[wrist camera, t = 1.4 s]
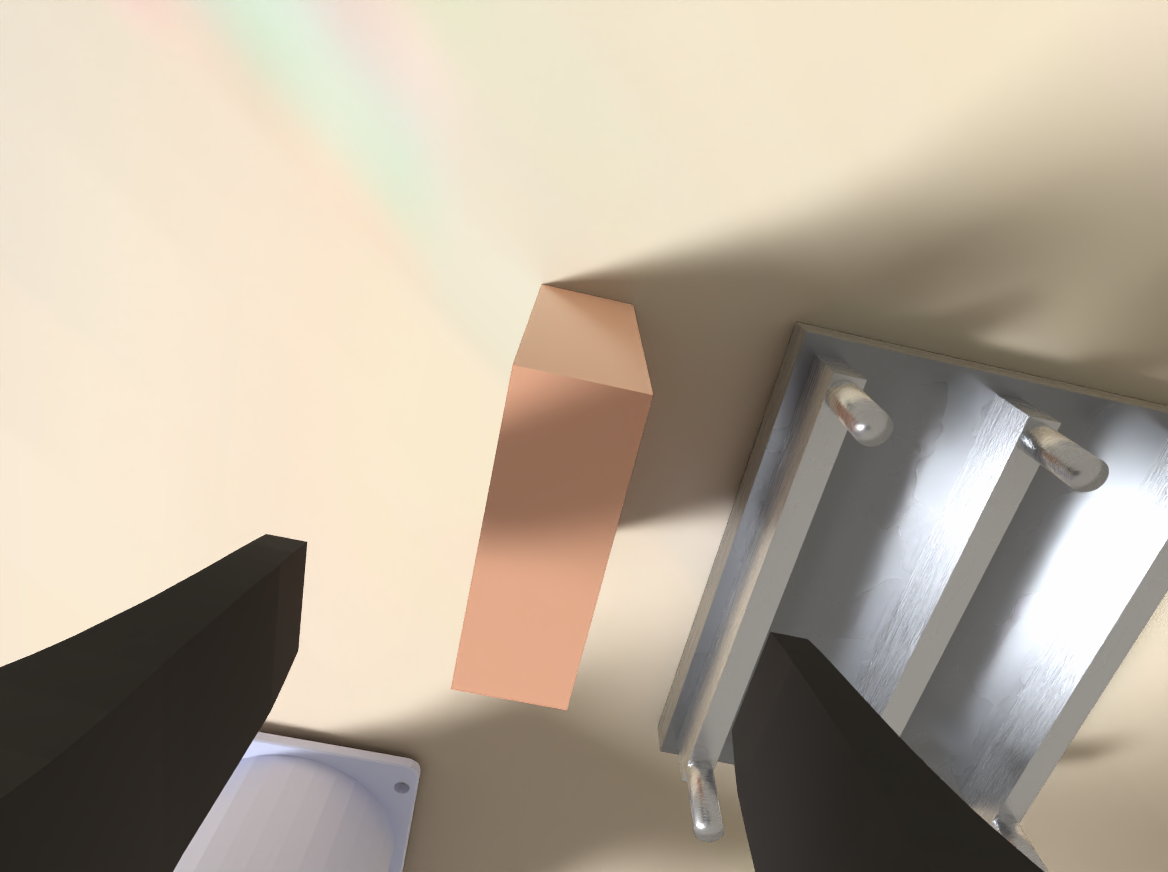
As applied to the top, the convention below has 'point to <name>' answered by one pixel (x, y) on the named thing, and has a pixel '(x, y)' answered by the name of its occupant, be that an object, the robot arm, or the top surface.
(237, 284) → the top surface
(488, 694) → the peach brick
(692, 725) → the pegged metal rack
